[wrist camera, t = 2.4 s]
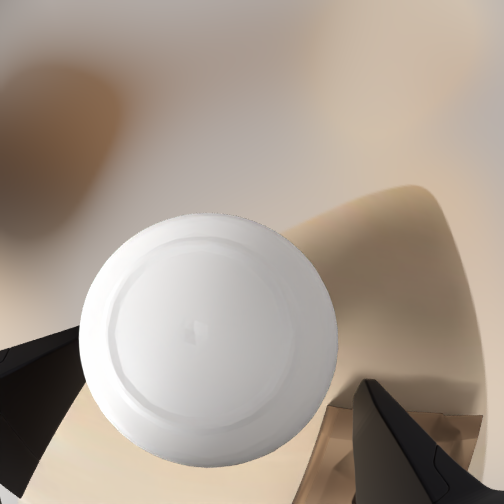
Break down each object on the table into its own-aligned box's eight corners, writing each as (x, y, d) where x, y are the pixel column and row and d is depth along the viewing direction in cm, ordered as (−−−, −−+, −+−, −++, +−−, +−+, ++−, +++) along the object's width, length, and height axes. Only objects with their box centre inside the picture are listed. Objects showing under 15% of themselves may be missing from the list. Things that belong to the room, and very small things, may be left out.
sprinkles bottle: (187, 364, 16) (37, 308, 4) (240, 318, 17) (212, 164, 5) (237, 417, 14) (189, 520, 2) (291, 368, 16) (399, 327, 4)
